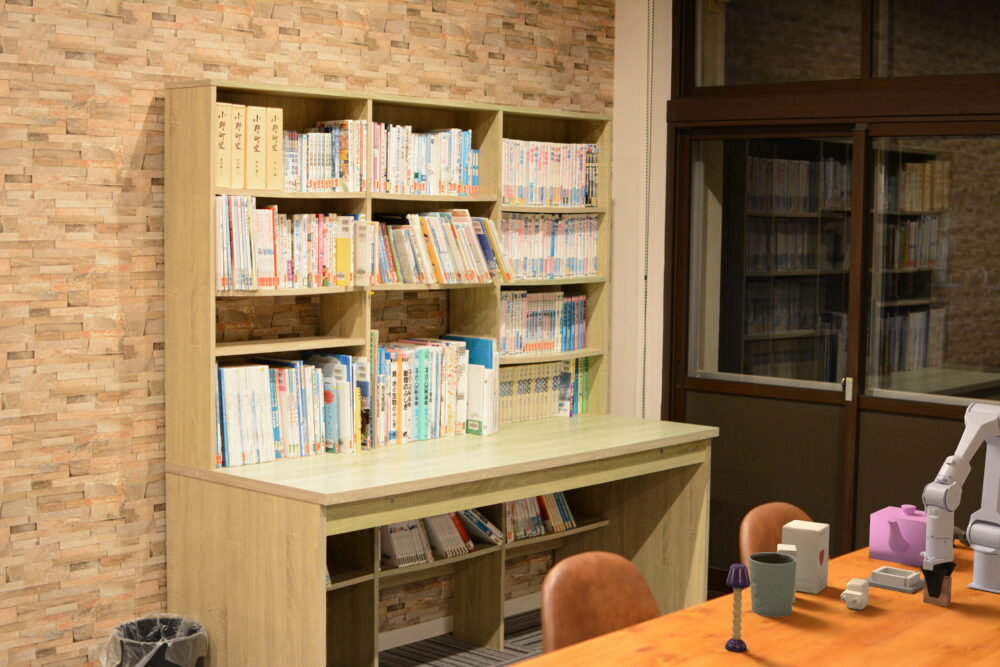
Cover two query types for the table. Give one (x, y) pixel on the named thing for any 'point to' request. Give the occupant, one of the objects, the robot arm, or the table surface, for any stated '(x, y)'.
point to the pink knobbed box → (898, 535)
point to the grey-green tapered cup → (772, 583)
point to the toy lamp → (737, 604)
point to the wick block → (944, 595)
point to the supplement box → (809, 553)
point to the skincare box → (793, 552)
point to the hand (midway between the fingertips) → (937, 595)
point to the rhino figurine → (960, 536)
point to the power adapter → (856, 594)
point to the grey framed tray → (896, 579)
